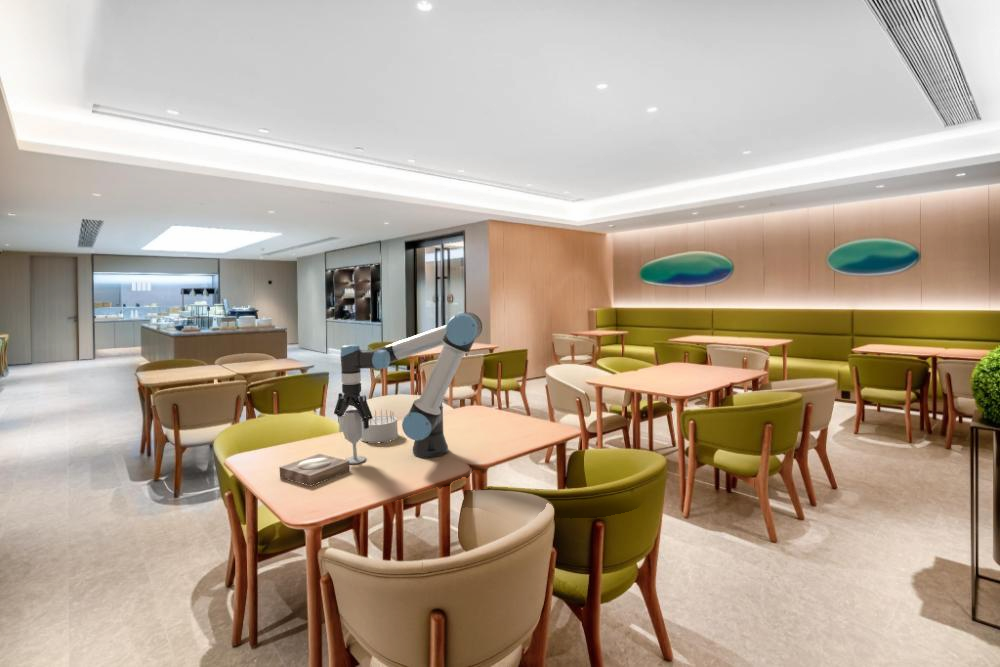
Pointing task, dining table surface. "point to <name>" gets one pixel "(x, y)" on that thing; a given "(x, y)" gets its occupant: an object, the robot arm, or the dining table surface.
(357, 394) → the robot arm
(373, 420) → the cake
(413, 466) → the dining table surface
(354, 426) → the wineglass
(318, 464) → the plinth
